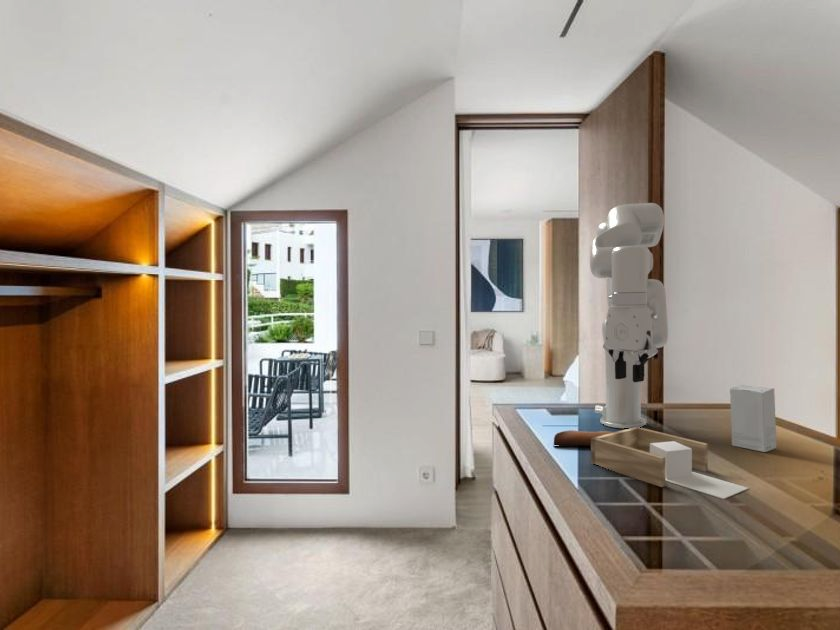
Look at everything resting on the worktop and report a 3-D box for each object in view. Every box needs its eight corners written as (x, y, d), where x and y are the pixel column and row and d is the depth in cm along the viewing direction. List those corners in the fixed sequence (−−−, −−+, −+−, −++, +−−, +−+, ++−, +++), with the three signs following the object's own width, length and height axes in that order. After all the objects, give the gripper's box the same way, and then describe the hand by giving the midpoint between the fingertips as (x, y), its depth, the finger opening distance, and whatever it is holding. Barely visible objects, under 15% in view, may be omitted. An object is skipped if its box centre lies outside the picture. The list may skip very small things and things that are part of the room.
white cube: (691, 476, 122) (692, 448, 121) (666, 479, 121) (666, 451, 120) (673, 467, 128) (673, 440, 127) (649, 470, 126) (649, 443, 126)
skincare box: (776, 448, 139) (777, 388, 138) (764, 453, 136) (765, 391, 135) (741, 441, 146) (742, 383, 145) (728, 445, 143) (729, 386, 142)
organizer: (661, 487, 117) (661, 458, 116) (591, 463, 132) (590, 438, 132) (707, 470, 126) (707, 443, 125) (636, 450, 141) (636, 426, 141)
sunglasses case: (623, 440, 150) (625, 421, 146) (626, 461, 144) (628, 442, 140) (552, 438, 153) (552, 420, 150) (553, 458, 148) (553, 440, 144)
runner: (611, 464, 132) (612, 463, 132) (637, 456, 136) (637, 455, 136) (723, 499, 110) (723, 498, 110) (748, 488, 115) (748, 487, 115)
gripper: (588, 300, 136) (589, 377, 137) (651, 302, 121) (651, 387, 123) (610, 299, 140) (610, 373, 141) (672, 300, 125) (672, 383, 127)
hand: (629, 379), depth 132 cm, fingers open, 4 cm apart
